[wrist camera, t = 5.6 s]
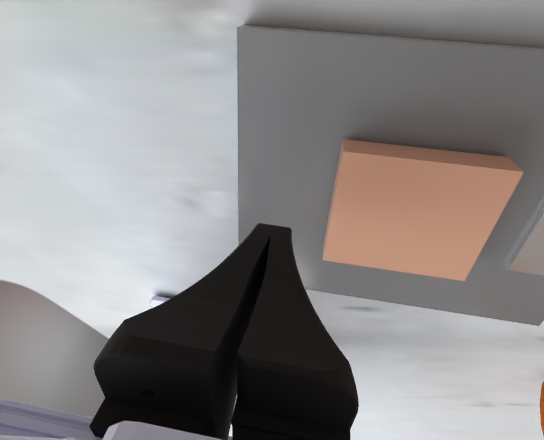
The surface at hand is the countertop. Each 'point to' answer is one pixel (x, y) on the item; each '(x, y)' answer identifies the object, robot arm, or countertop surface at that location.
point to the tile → (415, 207)
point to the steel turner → (530, 249)
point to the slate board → (388, 130)
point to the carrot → (542, 407)
